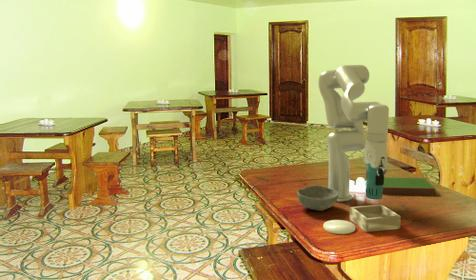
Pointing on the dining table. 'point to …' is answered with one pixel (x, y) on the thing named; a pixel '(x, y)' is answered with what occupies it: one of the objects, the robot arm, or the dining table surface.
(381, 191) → the beverage bottle
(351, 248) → the dining table surface
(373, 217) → the wooden frame
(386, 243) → the dining table surface
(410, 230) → the dining table surface
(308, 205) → the bowl
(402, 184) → the hardcover book
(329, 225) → the plate
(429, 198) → the dining table surface
